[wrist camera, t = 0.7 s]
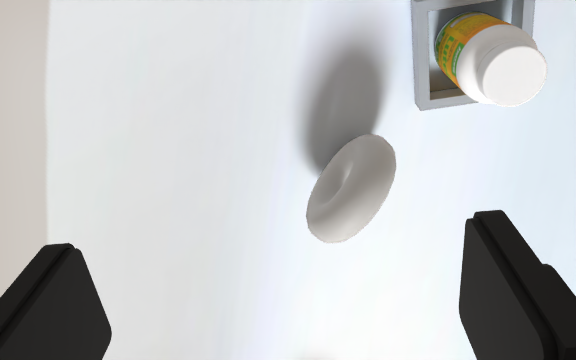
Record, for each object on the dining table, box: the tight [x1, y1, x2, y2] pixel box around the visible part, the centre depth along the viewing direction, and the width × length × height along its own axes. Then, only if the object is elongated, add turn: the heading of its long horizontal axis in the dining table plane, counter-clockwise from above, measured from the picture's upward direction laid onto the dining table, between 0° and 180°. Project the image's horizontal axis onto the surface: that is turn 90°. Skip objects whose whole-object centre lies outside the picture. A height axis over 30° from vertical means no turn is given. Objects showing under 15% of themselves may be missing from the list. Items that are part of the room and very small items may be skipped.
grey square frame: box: [411, 0, 535, 111], centre depth 37 cm, size 9×9×2 cm
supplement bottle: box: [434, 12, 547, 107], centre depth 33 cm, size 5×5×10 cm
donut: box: [306, 135, 396, 243], centre depth 38 cm, size 10×4×10 cm, turn 146°
